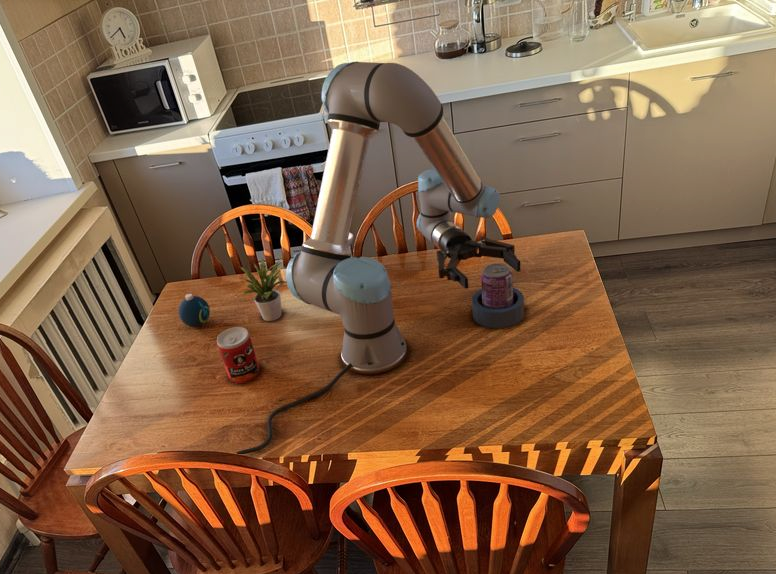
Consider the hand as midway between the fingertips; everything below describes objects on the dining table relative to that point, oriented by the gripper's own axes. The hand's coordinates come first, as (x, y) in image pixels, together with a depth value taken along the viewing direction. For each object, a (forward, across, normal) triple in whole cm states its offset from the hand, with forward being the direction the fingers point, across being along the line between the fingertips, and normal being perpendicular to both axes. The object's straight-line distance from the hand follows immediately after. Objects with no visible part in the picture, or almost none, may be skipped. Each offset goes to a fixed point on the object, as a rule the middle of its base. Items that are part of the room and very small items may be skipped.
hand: (493, 275), depth 151 cm
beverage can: (+2, 0, -10) cm, 10 cm away
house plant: (-28, +49, -10) cm, 58 cm away
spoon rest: (-50, +25, -10) cm, 56 cm away
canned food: (-8, +62, -10) cm, 63 cm away
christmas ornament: (-37, +69, -10) cm, 79 cm away
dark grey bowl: (+2, 0, -10) cm, 10 cm away
